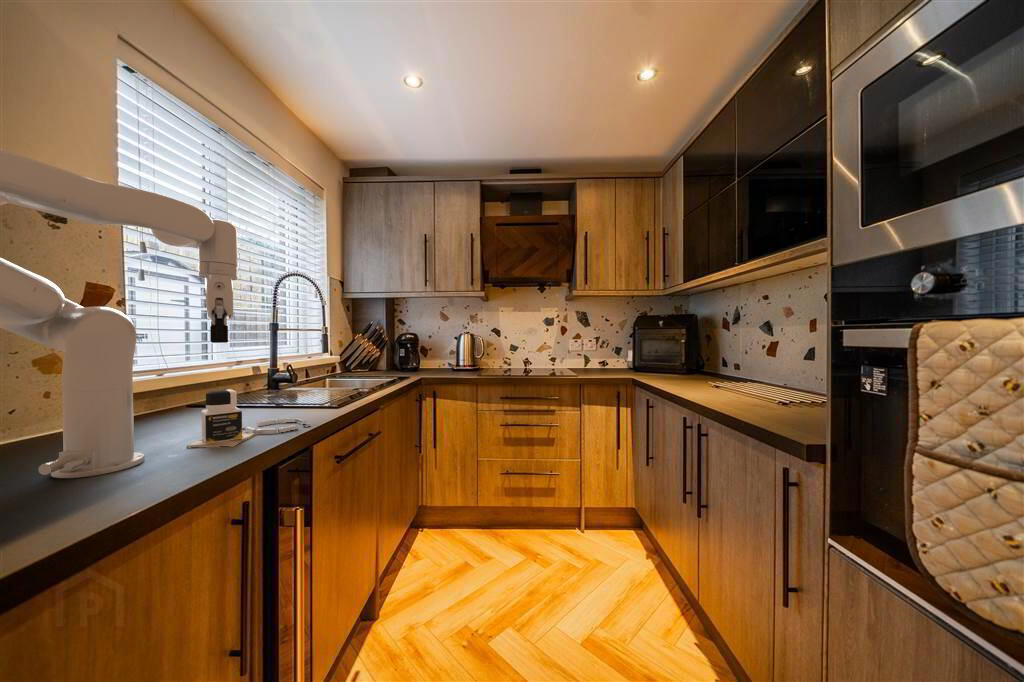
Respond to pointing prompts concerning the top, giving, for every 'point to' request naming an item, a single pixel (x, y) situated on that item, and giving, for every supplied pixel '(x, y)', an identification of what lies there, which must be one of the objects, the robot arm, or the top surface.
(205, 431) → the medicine bottle
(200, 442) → the cork pad
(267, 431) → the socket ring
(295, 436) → the top surface
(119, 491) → the top surface
